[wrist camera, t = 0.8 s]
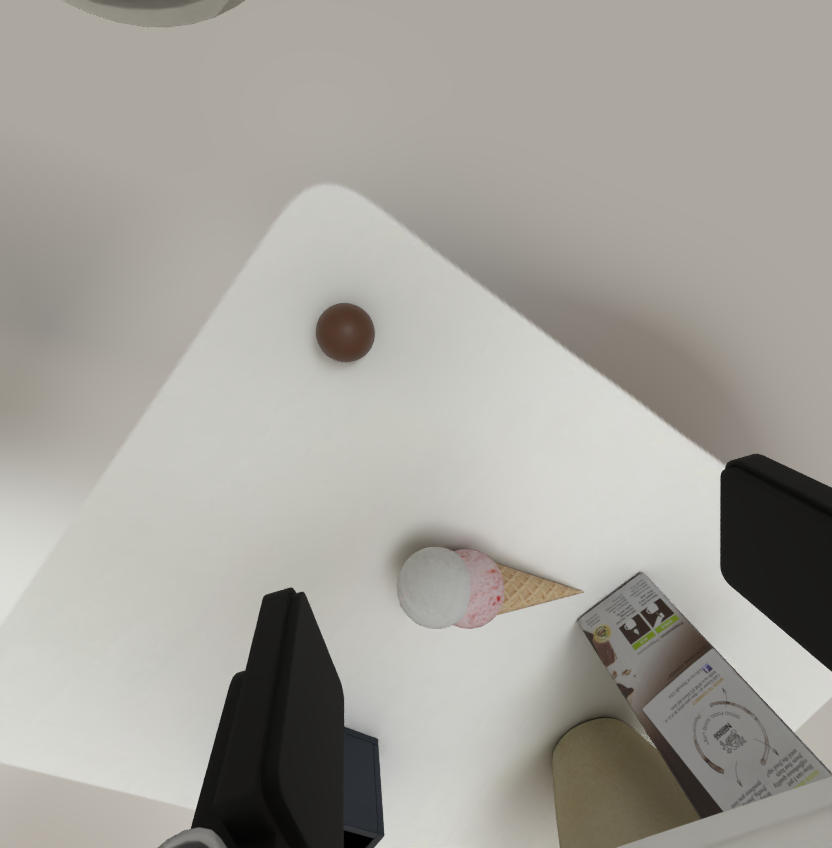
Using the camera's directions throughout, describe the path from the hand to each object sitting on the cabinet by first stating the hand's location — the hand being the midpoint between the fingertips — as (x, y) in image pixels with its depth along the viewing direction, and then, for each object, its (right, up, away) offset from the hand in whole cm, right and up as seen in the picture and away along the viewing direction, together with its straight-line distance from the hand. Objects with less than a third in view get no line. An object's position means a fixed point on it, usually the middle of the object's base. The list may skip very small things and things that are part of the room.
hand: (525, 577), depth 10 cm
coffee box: (+15, -12, +26) cm, 32 cm away
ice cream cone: (+3, -6, +22) cm, 23 cm away
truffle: (-6, +8, +14) cm, 17 cm away
